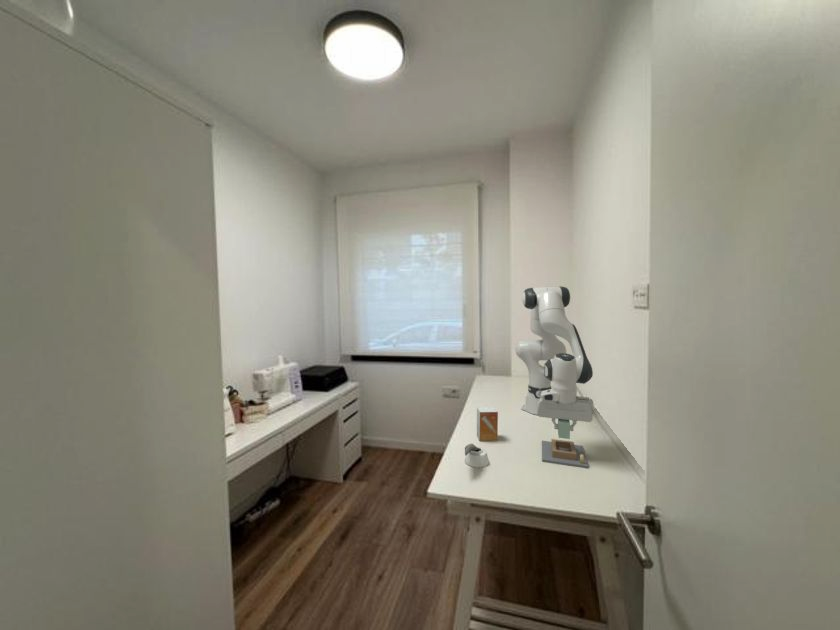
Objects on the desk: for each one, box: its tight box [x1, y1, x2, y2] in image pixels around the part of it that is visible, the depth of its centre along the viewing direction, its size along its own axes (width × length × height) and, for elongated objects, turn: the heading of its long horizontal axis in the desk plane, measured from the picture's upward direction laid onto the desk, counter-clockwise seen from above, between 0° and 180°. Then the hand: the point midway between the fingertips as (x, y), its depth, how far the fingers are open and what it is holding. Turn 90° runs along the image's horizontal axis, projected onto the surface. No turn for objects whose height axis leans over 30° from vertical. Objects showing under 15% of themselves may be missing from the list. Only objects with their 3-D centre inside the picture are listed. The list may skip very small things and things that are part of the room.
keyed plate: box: [541, 438, 589, 469], centre depth 137 cm, size 18×16×4 cm
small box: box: [476, 406, 499, 442], centre depth 152 cm, size 8×6×13 cm
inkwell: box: [464, 443, 490, 468], centre depth 127 cm, size 9×18×10 cm, turn 156°
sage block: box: [557, 419, 571, 440], centre depth 136 cm, size 4×7×6 cm, turn 161°
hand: (563, 429), depth 136 cm, fingers closed on sage block, 4 cm apart
